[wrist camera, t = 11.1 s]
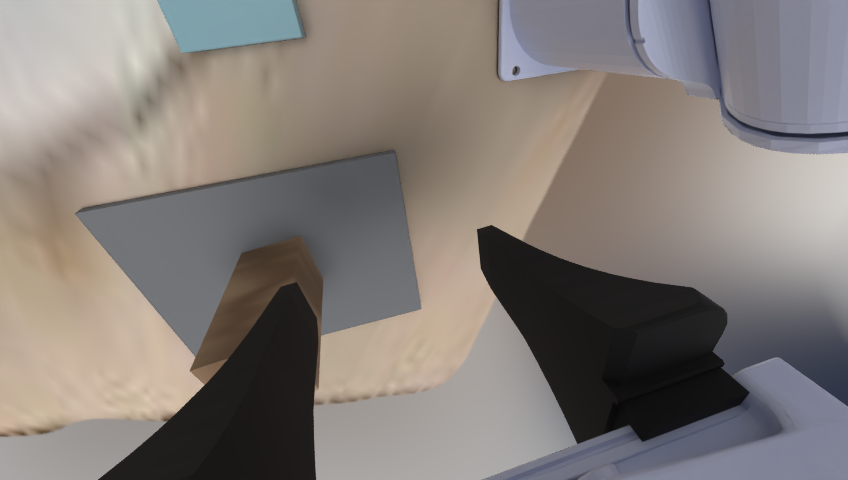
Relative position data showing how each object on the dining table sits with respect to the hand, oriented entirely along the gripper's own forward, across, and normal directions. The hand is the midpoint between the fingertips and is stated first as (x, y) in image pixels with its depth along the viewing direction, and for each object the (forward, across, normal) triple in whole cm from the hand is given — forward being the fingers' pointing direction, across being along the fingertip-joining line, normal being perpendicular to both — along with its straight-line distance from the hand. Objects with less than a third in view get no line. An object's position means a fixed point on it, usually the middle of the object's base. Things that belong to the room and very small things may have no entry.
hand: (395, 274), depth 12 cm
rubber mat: (+10, +8, +5) cm, 14 cm away
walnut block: (+10, +8, +4) cm, 13 cm away
